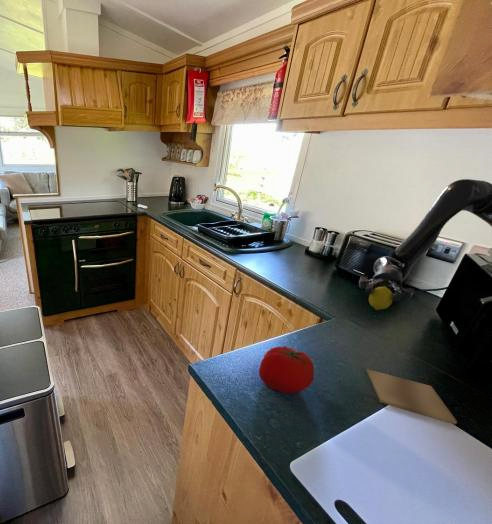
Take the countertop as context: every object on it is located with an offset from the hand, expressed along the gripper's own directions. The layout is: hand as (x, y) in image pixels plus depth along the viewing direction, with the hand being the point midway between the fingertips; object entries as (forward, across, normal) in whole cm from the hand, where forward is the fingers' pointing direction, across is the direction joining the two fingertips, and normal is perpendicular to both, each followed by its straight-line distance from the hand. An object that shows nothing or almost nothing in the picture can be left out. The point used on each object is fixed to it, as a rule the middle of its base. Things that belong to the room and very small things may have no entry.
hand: (382, 294), depth 86 cm
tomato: (+39, -12, +18) cm, 44 cm away
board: (+18, +11, +18) cm, 28 cm away
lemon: (-3, 0, +6) cm, 7 cm away
